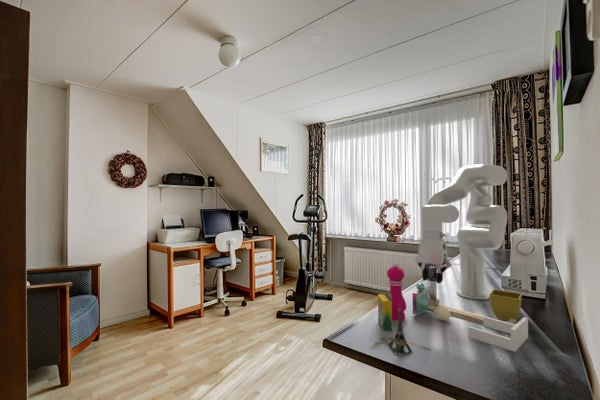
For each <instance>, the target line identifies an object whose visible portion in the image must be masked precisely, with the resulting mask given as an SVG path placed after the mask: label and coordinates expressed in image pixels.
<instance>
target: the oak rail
mask: <svg viewBox="0 0 600 400" xmlns="http://www.w3.org/2000/svg"><path fill="white" fill-rule="evenodd" d="M438 306H444V307H446V308H447V309H448V310H449V311H450V316H452V317H453V316H454V317H456V318H461V319H464V320H467V321H471V322H475V323H478V324H481V325H483V317H484V316H485V315H481V314H477V313H473V312H470V311H466V310H462V309H458V308H455V307H450V306H446V305H443V304H441V303H440V304H439V305H436V306H435V305H431V304H428V310H430V311H431V310H432V311H435V309H436V307H438ZM485 317H487V316H485ZM507 322H508V323H512V324H517V319H516V320H514V319H510V320H509V321H507Z"/></svg>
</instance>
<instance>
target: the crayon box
mask: <svg viewBox="0 0 600 400" xmlns="http://www.w3.org/2000/svg"><path fill="white" fill-rule="evenodd" d="M388 295H389V296H390V297H388ZM377 309H378V310H377V311H378V312H377V313H378V315H377V316H378V318H377V320H378V321H377V322H378V323H379V325H380V327H381V328H382V330H383V331H384V332H393V320H392V295H391V294H390V291H388V290H387V289H385V294H380V293H379V294H377Z"/></svg>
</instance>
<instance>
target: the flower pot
mask: <svg viewBox="0 0 600 400" xmlns="http://www.w3.org/2000/svg"><path fill="white" fill-rule="evenodd" d="M488 295H489V301H490V307H491V310H492V312H493V314H494V316H495V317H496V318H497V320H501V321H506V322H508V321H509V320H510V319H514V320H516V321H517V319H518V317H519V314H520V311H521V306H522V299H523V298H522V297H523V294H522V293H520V292H515V291H514V292H513V291H505V290H501V289H492V291H491V292H490V293H489V294H488Z"/></svg>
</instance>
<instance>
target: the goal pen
mask: <svg viewBox="0 0 600 400" xmlns="http://www.w3.org/2000/svg"><path fill="white" fill-rule="evenodd" d="M483 316H484V317H483V324H482V326H483V327H486V328H491V329H493V330H497V331H501V332H504V333H507V334H510V337H507V336H504V335H500V334H497V333H494V332H490V331H486V330H484V329H481V328H478V327H477V328H476V327H473V326H468V327H467V332H468V333H467V335H468V336H467V337H468V338H470V339H475V340H477V341H480V342H483V343H486V344H488V345H489V344H490V345H493V346H495V347H498V348H502V349H505V350H508V351H511V352H513V353H516V352H517V351H518V350H519V349H520V348H521V346H522V345H523V344H524V343H525V342H526V341H527V340H528V338H529V318H528V317H525V316H523V317H522V318H520V319H519V321H518V322H516V324H512V323H508V321H506V320H502V319H498V318H497V319H496V318H493V317H488V316H486V317H485V315H483Z"/></svg>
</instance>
